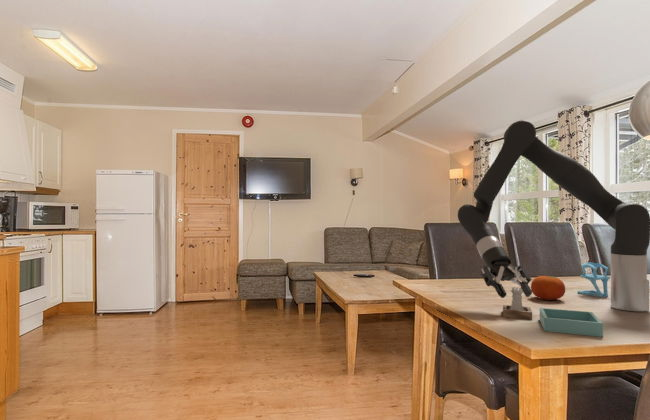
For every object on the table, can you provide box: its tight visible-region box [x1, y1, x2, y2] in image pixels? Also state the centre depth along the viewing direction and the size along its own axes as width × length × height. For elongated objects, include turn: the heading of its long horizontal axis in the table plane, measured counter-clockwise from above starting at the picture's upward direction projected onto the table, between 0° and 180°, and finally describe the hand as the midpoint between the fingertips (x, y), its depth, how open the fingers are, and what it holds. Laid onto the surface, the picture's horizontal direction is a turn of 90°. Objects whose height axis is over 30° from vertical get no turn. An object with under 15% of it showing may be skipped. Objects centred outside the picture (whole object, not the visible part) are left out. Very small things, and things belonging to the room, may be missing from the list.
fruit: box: [530, 275, 566, 301], centre depth 144 cm, size 11×10×8 cm
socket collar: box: [502, 304, 533, 320], centre depth 121 cm, size 8×8×2 cm
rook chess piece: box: [509, 286, 525, 311], centre depth 121 cm, size 4×4×8 cm
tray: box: [539, 307, 604, 338], centre depth 108 cm, size 13×13×3 cm
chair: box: [576, 261, 611, 298], centre depth 152 cm, size 8×8×12 cm
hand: (516, 295), depth 121 cm, fingers open, 8 cm apart
